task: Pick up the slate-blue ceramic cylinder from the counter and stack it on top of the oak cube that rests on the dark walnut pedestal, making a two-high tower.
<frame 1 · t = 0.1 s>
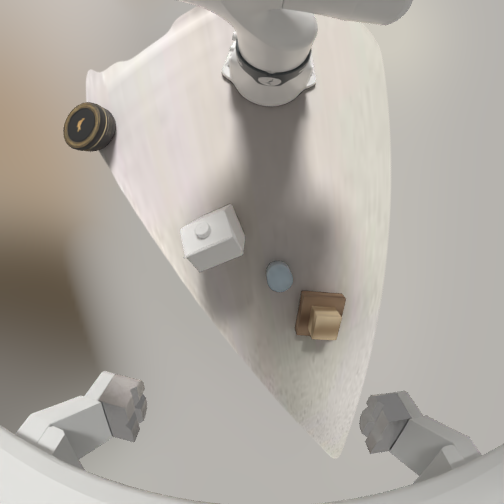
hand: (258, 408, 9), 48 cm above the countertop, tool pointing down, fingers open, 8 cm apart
milk carton: (222, 227, 56), on the countertop
ceramic cylinder: (277, 272, 58), on the countertop
walnut pedestal: (318, 311, 60), on the countertop
oak cube: (321, 317, 57), point 3 cm above the countertop, touching walnut pedestal
jar: (99, 130, 51), on the countertop
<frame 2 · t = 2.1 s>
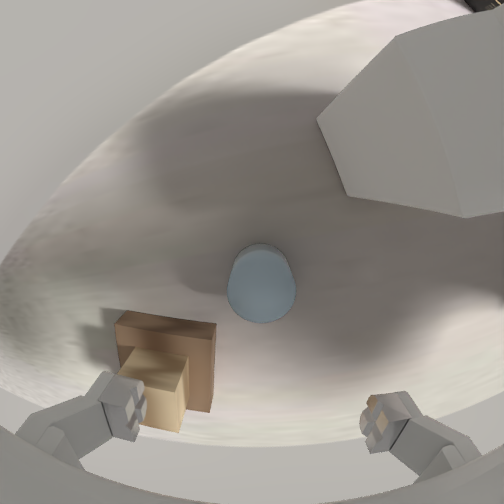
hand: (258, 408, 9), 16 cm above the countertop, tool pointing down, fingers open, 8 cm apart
milk carton: (366, 145, 22), on the countertop
ceramic cylinder: (260, 271, 24), on the countertop
walnut pedestal: (170, 355, 27), on the countertop
oak cube: (162, 373, 24), point 3 cm above the countertop, touching walnut pedestal
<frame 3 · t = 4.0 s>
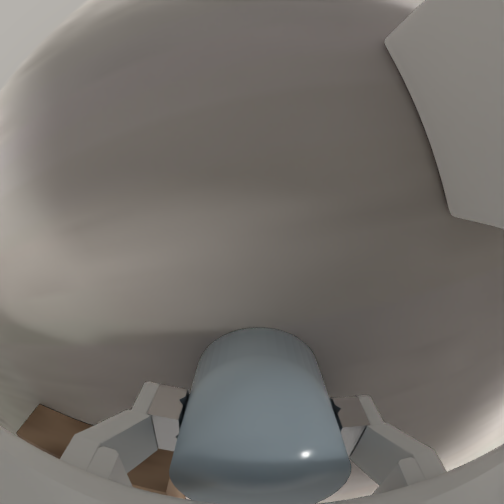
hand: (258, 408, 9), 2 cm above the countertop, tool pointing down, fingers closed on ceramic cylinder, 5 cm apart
milk carton: (472, 112, 8), on the countertop
ceramic cylinder: (257, 379, 10), on the countertop, touching gripper
walnut pedestal: (116, 468, 12), on the countertop
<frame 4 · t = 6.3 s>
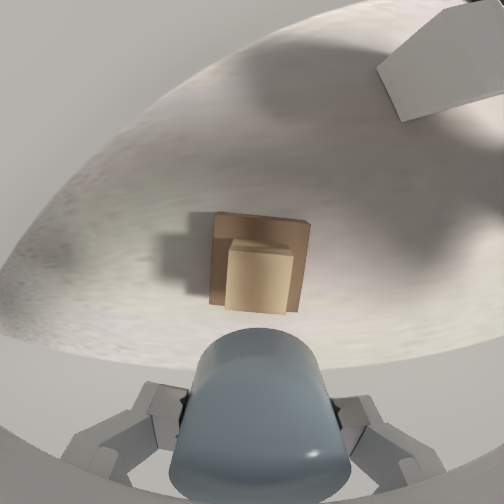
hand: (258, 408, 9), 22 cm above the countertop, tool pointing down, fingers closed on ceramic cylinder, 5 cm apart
milk carton: (409, 90, 25), on the countertop
ceramic cylinder: (257, 380, 10), point 20 cm above the countertop, touching gripper
walnut pedestal: (258, 258, 30), on the countertop
oak cube: (258, 266, 27), point 3 cm above the countertop, touching walnut pedestal
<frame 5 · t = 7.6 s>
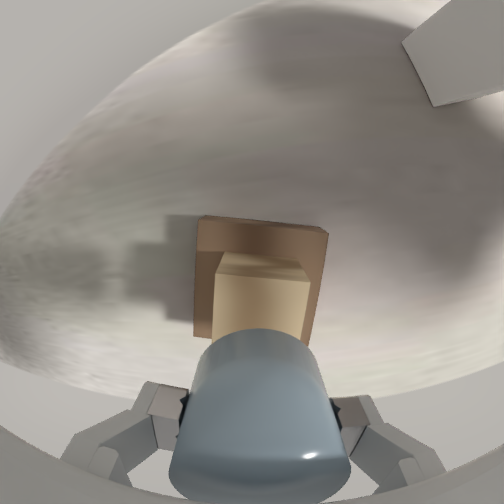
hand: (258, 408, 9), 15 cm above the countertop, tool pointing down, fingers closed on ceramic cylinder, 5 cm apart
milk carton: (439, 71, 19), on the countertop
ceramic cylinder: (257, 380, 10), point 13 cm above the countertop, touching gripper
walnut pedestal: (256, 276, 23), on the countertop
oak cube: (257, 289, 20), point 3 cm above the countertop, touching walnut pedestal
when the fingers open (11 cm above the countertop, at t = 8.8 s): ceramic cylinder stays where it is, resting on oak cube.
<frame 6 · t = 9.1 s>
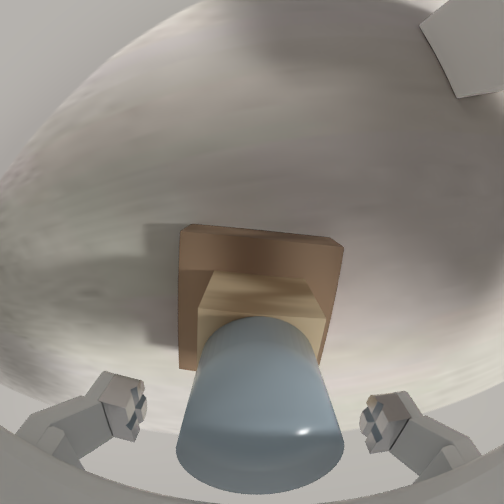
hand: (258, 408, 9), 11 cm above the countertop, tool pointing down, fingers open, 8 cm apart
milk carton: (460, 59, 15), on the countertop
ceramic cylinder: (257, 366, 11), point 8 cm above the countertop, touching oak cube
walnut pedestal: (254, 296, 19), on the countertop
oak cube: (255, 316, 16), point 3 cm above the countertop, touching ceramic cylinder, walnut pedestal
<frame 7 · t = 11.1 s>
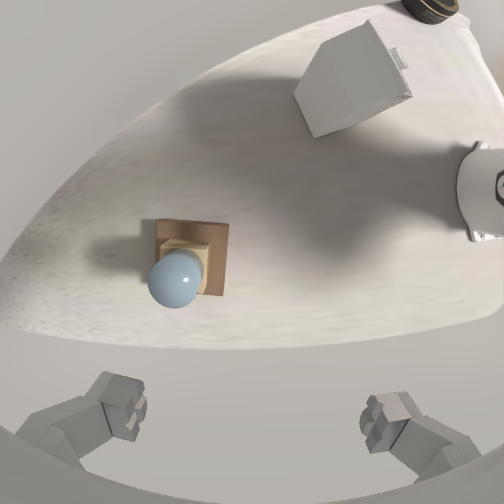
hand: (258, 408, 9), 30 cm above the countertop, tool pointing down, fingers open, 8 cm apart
milk carton: (325, 109, 35), on the countertop
ceramic cylinder: (182, 269, 30), point 8 cm above the countertop, touching oak cube
walnut pedestal: (193, 254, 38), on the countertop
oak cube: (189, 259, 35), point 3 cm above the countertop, touching ceramic cylinder, walnut pedestal
jar: (418, 7, 30), on the countertop
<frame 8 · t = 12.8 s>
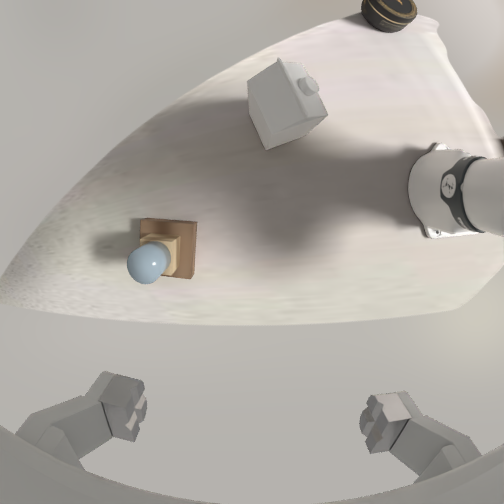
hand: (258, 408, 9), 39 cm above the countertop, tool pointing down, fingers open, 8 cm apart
milk carton: (277, 124, 43), on the countertop
ceramic cylinder: (155, 257, 40), point 8 cm above the countertop, touching oak cube
walnut pedestal: (170, 245, 47), on the countertop
oak cube: (165, 249, 44), point 3 cm above the countertop, touching ceramic cylinder, walnut pedestal
jar: (380, 17, 37), on the countertop
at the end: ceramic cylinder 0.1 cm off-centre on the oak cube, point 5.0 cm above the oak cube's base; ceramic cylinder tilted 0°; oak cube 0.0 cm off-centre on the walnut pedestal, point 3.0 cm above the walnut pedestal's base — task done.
